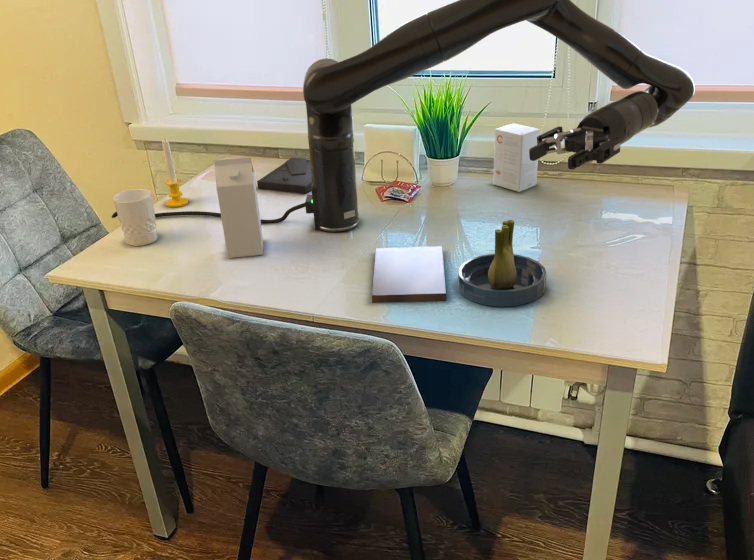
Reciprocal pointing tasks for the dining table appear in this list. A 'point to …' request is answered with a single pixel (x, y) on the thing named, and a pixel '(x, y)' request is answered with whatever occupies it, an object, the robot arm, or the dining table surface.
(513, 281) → the fennel bulb
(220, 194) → the milk carton
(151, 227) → the white cup
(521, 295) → the bowl
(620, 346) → the dining table surface
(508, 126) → the small box
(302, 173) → the picture frame
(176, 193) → the candle
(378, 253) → the board
